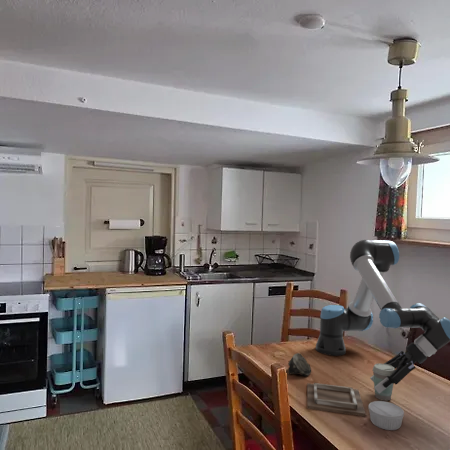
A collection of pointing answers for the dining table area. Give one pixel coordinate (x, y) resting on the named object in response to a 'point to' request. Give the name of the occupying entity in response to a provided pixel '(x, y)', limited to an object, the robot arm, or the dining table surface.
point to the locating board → (334, 399)
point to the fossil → (299, 365)
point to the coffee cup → (379, 375)
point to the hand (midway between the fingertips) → (374, 385)
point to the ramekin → (385, 415)
